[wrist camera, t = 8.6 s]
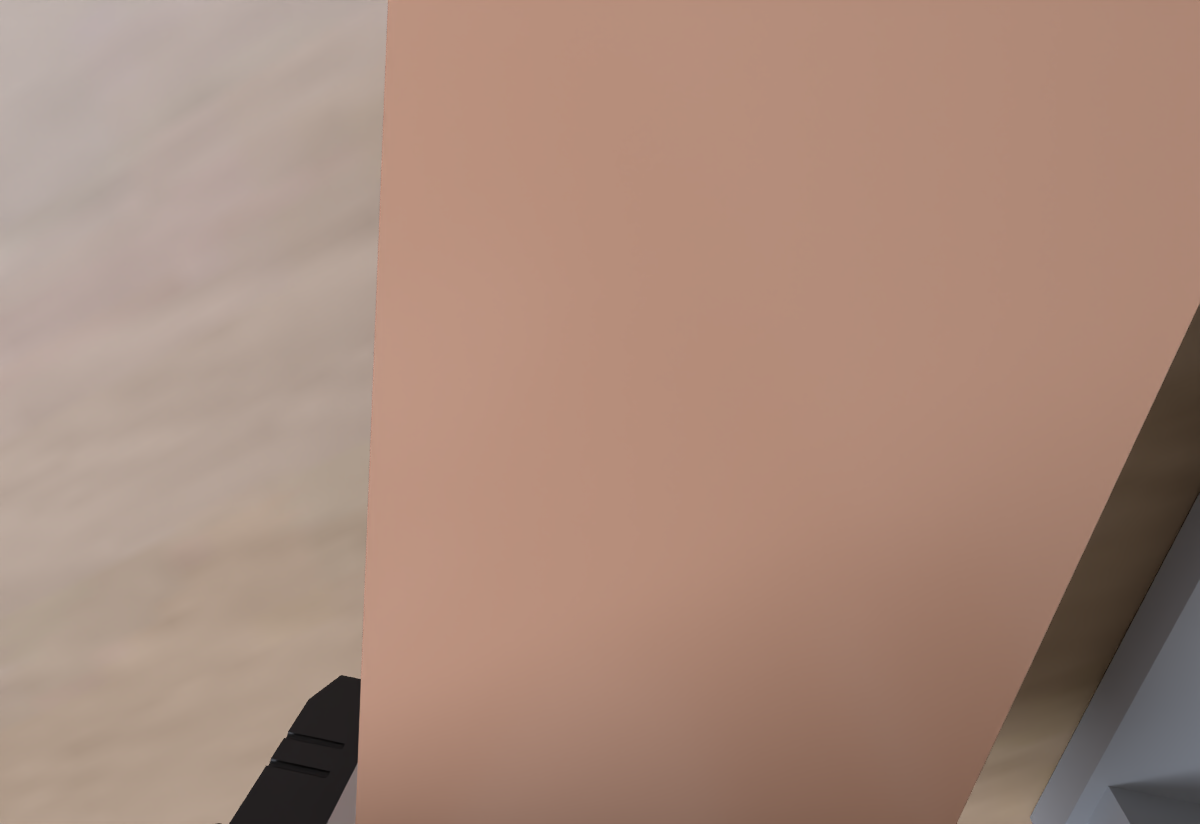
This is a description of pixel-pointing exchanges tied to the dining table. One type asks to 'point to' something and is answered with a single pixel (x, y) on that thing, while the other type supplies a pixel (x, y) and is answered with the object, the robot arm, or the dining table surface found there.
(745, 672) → the salmon pink square bar
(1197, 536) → the stand
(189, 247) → the dining table surface
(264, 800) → the robot arm
